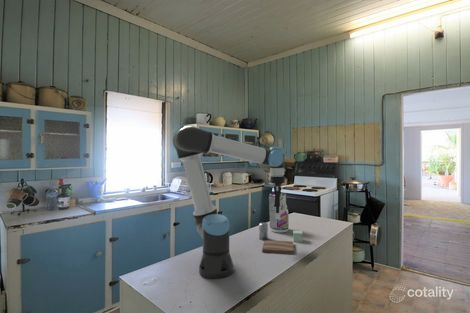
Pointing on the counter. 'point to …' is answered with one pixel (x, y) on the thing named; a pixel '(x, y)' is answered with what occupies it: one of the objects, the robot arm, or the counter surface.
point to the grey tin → (263, 231)
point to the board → (278, 247)
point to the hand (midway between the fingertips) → (278, 216)
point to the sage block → (297, 236)
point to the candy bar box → (283, 214)
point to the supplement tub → (282, 228)
